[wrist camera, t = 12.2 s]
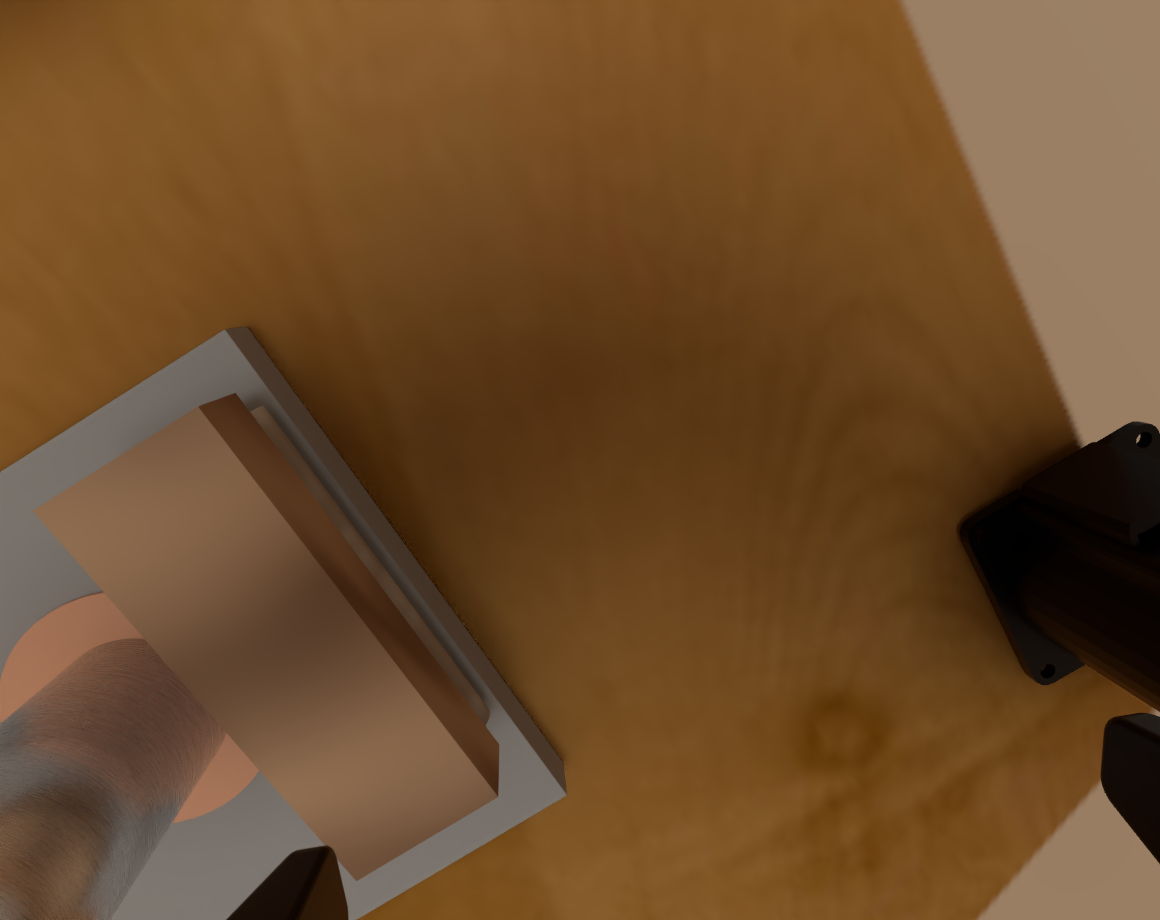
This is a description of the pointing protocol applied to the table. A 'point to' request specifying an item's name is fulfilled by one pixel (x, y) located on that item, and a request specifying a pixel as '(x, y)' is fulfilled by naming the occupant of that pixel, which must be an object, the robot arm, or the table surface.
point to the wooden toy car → (285, 629)
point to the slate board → (231, 781)
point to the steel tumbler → (95, 781)
